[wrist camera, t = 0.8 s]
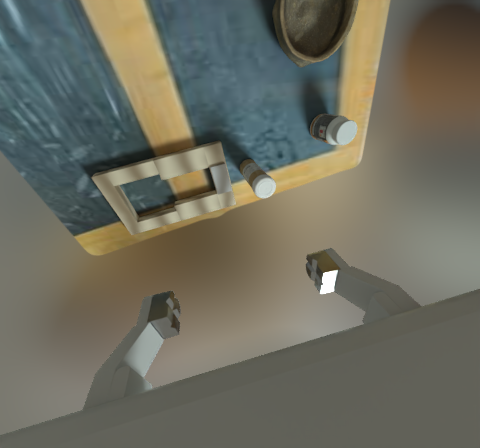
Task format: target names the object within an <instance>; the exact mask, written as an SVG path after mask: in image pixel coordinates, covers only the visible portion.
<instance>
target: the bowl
mask: <svg viewBox="0 0 480 448" xmlns="http://www.w3.org/2000/svg"><path fill="white" fill-rule="evenodd" d="M357 6H358V0H276V2H275V5H274V8H273V11H272V16H273V21H274V25H275V30H276V34H277V38H278V40H279V43H280V46H281V48H282V49H283V51H284V53H285V54H286V55H287V56H288V58H289V59H290V60H292V61H293V62H294V63H295V64H296V65H297V66H299V67H304V66H306V65H309V64H311V63H314V62H319V61H323V60H325V59H327V58H328V57H329V56H330V55H332V54H333V53H334V52H335V51H336V50H337V49H338V48H339V47H340V45H341V44H342V43H343V41H344V40H345V38H346V37H347V35H348V33H349V31H350V29H351V27H352V24H353V21H354V18H355V14H356V10H357Z"/></svg>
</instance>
